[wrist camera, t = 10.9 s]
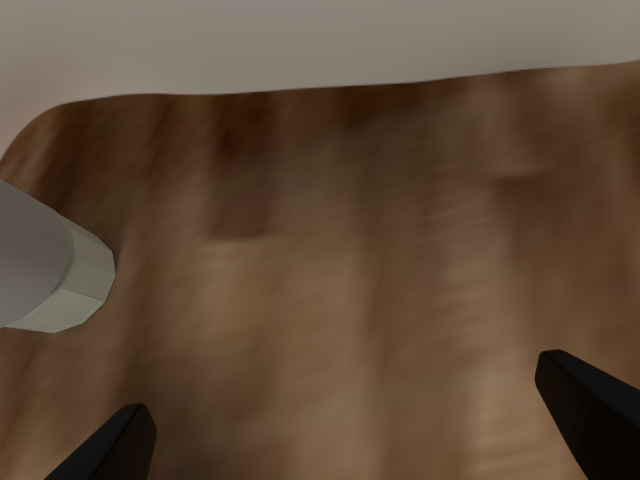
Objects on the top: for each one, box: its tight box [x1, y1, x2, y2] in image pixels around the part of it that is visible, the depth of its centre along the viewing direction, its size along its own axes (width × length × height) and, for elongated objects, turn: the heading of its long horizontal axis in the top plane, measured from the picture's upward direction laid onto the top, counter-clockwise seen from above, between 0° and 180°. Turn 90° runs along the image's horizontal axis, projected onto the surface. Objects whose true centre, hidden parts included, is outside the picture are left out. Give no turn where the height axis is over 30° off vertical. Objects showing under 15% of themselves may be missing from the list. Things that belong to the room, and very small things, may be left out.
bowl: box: [4, 213, 116, 333], centre depth 22 cm, size 7×7×4 cm
